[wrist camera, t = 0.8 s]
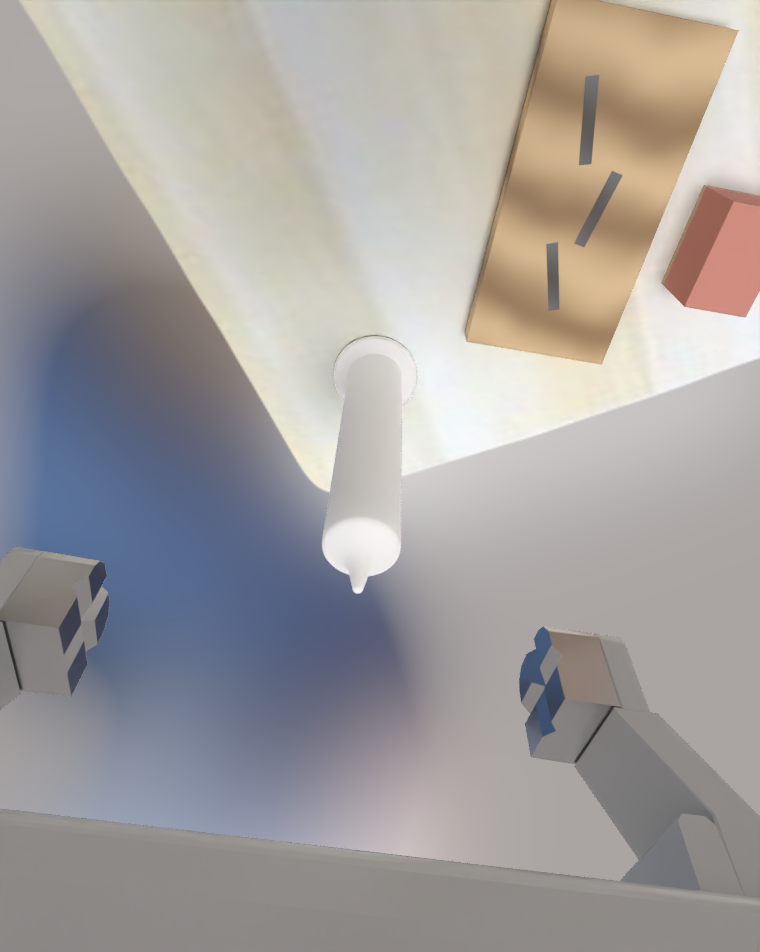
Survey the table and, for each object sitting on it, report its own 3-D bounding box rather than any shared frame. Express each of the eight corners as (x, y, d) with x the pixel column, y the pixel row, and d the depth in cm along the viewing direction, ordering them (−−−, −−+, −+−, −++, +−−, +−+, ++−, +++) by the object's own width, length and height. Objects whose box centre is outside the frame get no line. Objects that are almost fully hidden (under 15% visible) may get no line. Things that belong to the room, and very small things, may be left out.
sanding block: (703, 184, 44) (733, 201, 40) (764, 196, 44) (800, 214, 40) (661, 282, 48) (684, 306, 44) (716, 292, 48) (745, 317, 44)
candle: (331, 334, 51) (283, 540, 31) (418, 335, 51) (427, 542, 31) (335, 410, 55) (296, 635, 35) (416, 411, 55) (422, 637, 35)
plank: (553, -7, 38) (559, -8, 36) (726, 29, 39) (738, 30, 37) (464, 332, 51) (466, 341, 49) (596, 354, 52) (601, 364, 50)
